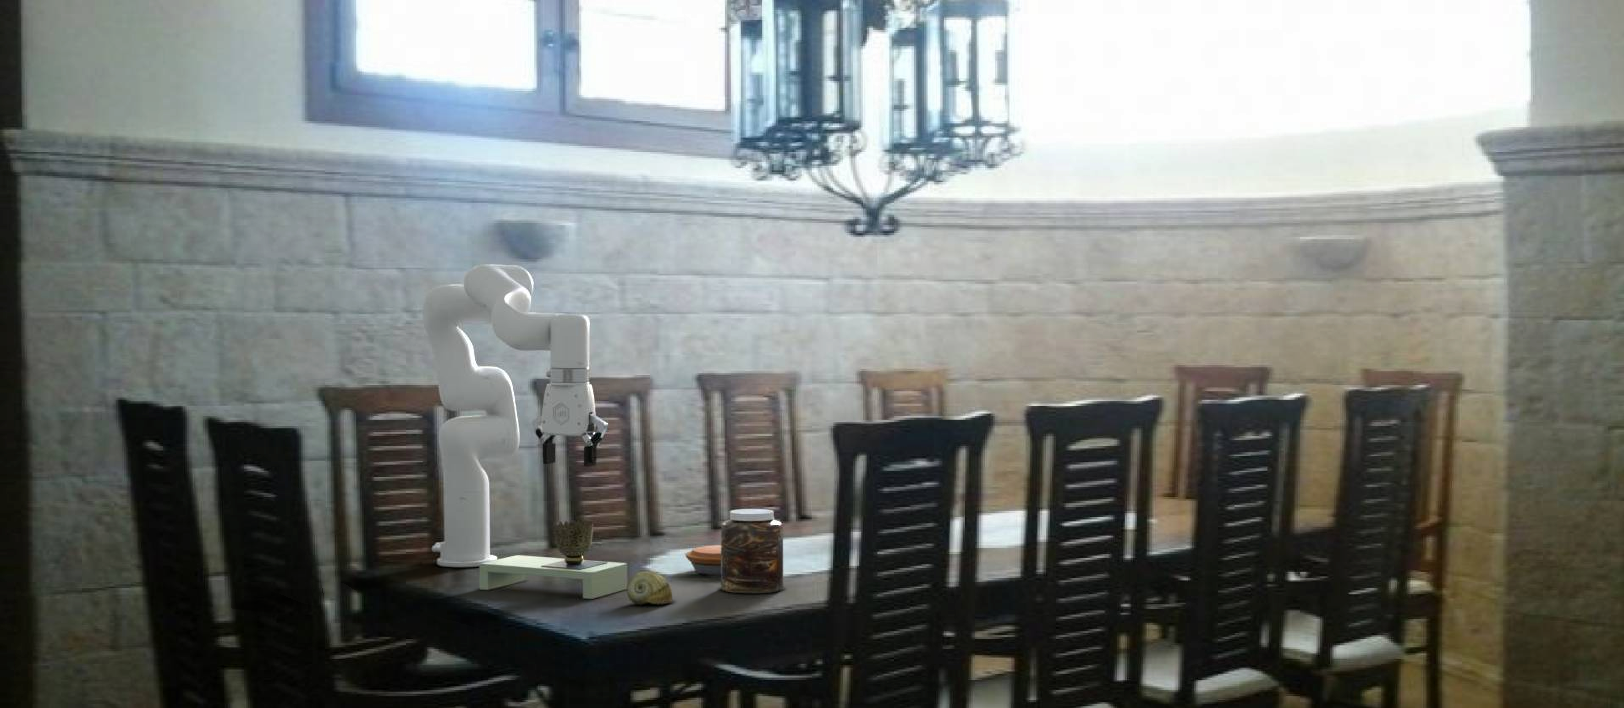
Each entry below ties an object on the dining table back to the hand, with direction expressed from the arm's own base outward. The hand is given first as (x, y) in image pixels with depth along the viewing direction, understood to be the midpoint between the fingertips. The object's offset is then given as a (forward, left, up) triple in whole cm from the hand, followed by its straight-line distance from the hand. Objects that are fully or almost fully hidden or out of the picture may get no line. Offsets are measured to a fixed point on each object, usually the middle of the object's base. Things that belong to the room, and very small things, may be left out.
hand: (569, 464), depth 297 cm
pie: (+18, +28, -24) cm, 41 cm away
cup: (+4, -5, -19) cm, 20 cm away
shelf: (-1, -5, -24) cm, 24 cm away
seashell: (+24, -10, -24) cm, 36 cm away
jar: (+34, +11, -24) cm, 43 cm away
